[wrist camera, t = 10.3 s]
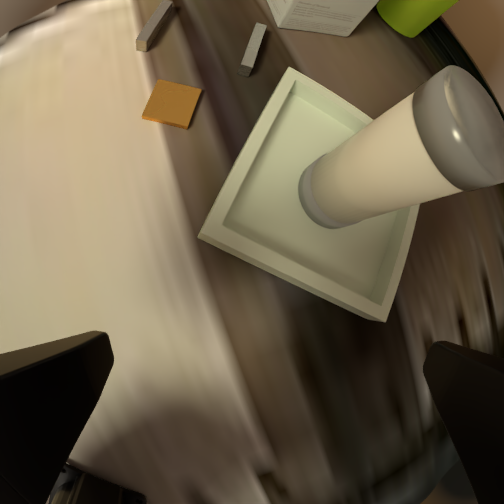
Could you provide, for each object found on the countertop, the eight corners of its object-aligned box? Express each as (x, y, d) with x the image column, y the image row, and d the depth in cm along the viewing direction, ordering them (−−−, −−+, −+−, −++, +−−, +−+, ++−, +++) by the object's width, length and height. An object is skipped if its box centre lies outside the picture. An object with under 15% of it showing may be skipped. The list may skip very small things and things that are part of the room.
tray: (366, 319, 20) (385, 322, 18) (196, 237, 18) (200, 232, 16) (410, 170, 23) (427, 163, 20) (278, 82, 20) (289, 66, 18)
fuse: (329, 243, 19) (497, 208, 8) (283, 185, 19) (423, 84, 7) (370, 201, 20) (518, 148, 9) (329, 148, 20) (461, 55, 8)
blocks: (228, 141, 19) (232, 133, 17) (104, 110, 17) (101, 101, 16) (262, 35, 20) (266, 25, 19) (162, 10, 18) (162, 0, 17)
